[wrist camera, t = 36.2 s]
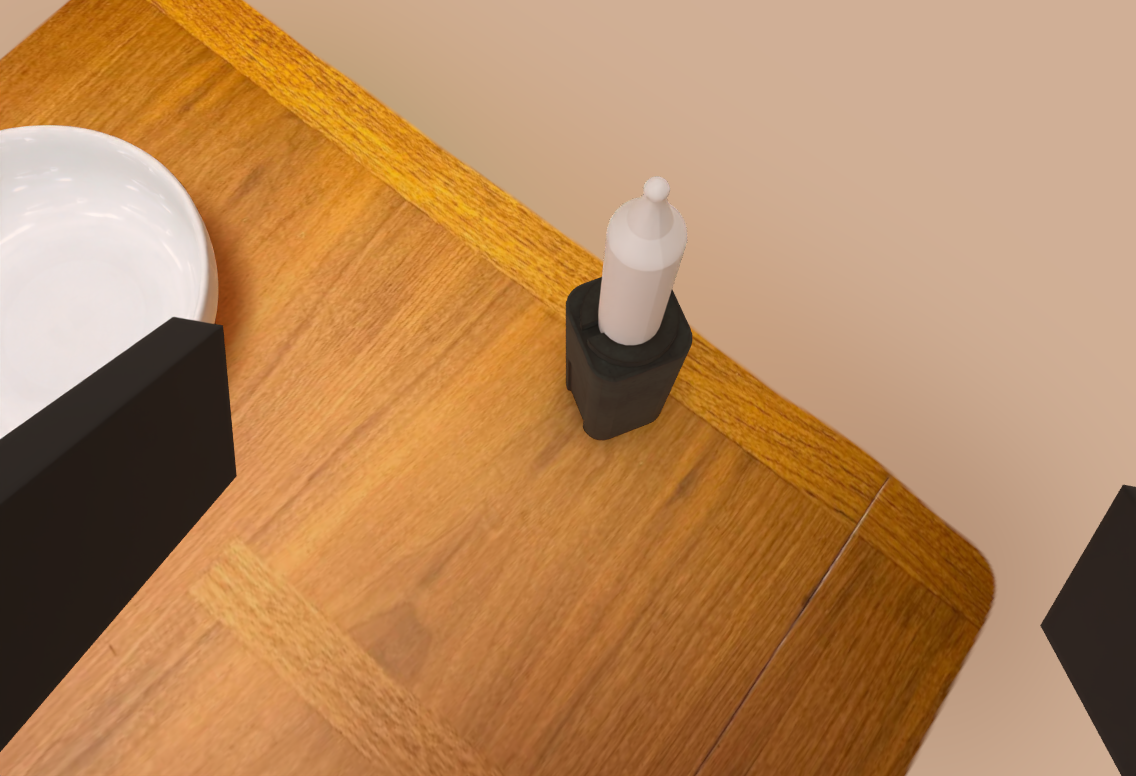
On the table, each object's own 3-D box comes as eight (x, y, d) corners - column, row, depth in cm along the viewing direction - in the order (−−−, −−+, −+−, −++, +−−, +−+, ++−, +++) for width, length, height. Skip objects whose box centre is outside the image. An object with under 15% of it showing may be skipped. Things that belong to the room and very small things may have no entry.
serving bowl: (93, 562, 46) (15, 553, 40) (-153, 370, 50) (-264, 332, 43) (319, 289, 51) (282, 240, 45) (80, 130, 54) (13, 63, 48)
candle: (667, 416, 49) (764, 223, 25) (590, 446, 48) (614, 278, 24) (635, 343, 50) (698, 93, 26) (560, 371, 50) (554, 142, 26)
